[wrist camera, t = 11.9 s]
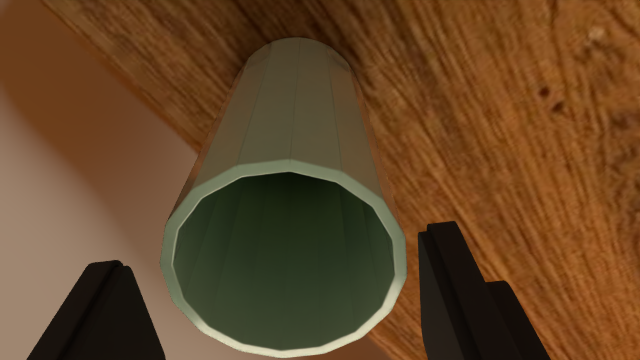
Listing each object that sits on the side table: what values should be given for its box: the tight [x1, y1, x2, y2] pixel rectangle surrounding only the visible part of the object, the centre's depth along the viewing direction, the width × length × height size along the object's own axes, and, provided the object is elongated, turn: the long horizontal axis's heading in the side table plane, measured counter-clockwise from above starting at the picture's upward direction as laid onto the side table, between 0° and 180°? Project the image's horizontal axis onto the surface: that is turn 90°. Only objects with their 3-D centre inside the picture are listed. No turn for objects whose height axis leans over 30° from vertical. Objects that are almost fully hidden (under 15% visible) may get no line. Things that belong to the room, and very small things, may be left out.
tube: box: [160, 37, 407, 358], centre depth 16 cm, size 6×6×12 cm
